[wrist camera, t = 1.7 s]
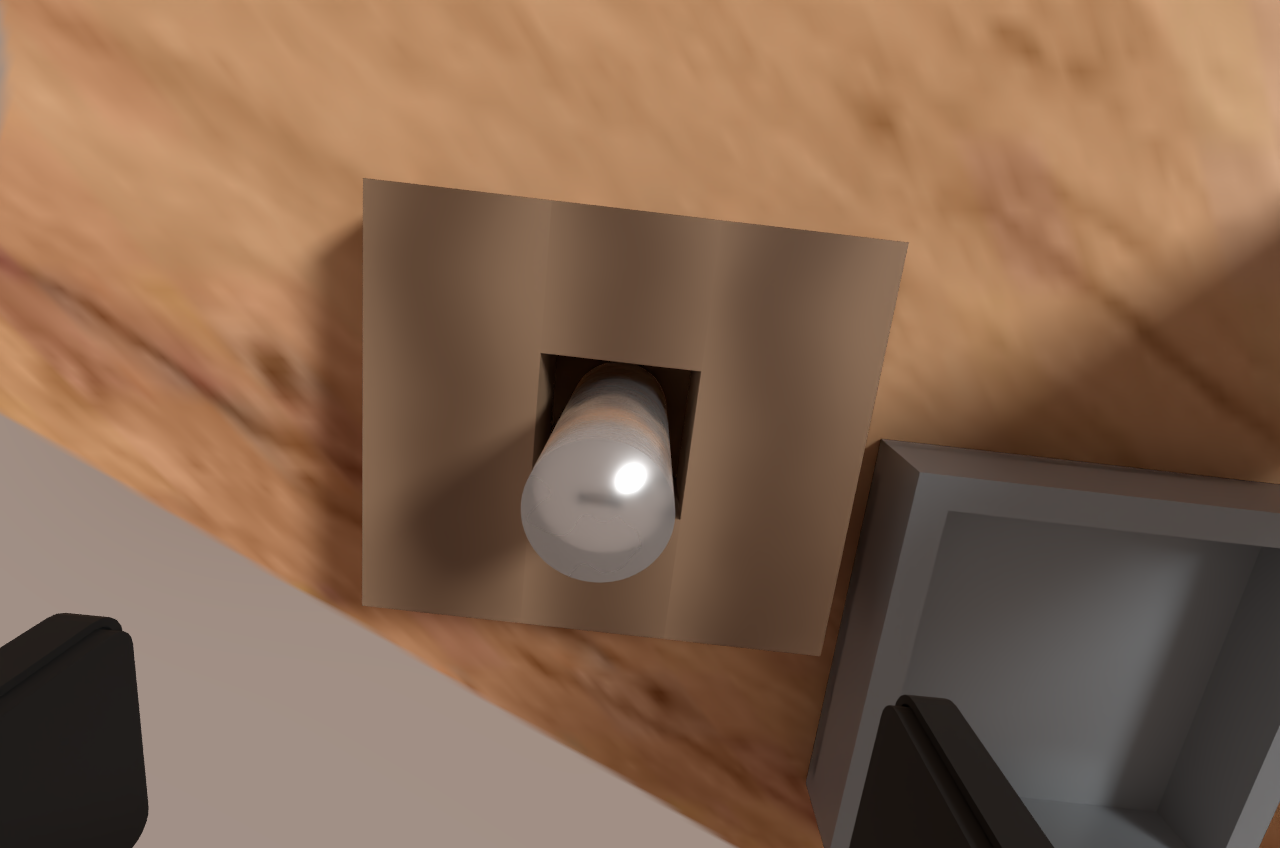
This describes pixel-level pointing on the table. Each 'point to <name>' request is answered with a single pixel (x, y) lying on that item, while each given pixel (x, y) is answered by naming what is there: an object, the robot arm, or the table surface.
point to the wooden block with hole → (622, 332)
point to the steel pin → (604, 479)
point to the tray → (1069, 642)
